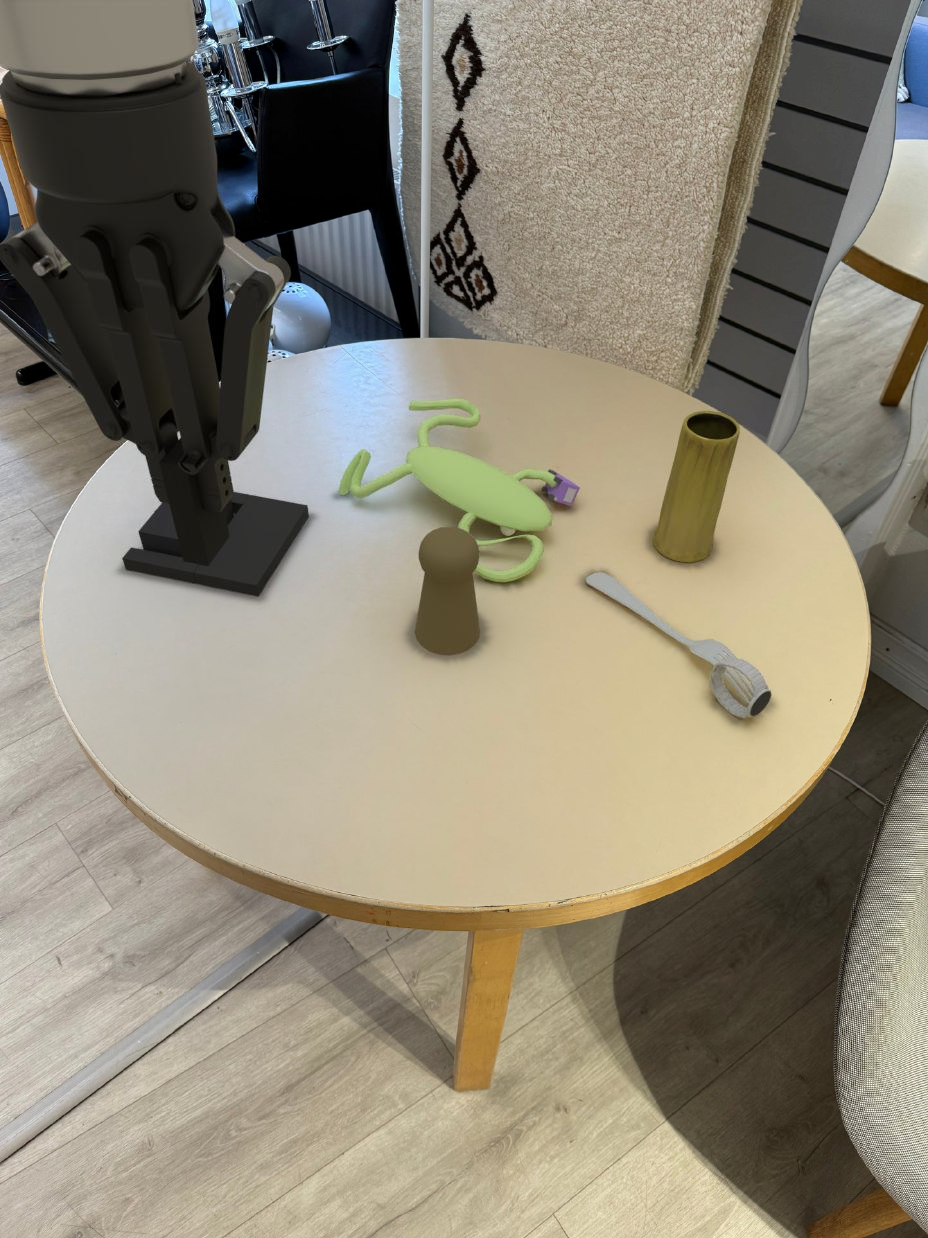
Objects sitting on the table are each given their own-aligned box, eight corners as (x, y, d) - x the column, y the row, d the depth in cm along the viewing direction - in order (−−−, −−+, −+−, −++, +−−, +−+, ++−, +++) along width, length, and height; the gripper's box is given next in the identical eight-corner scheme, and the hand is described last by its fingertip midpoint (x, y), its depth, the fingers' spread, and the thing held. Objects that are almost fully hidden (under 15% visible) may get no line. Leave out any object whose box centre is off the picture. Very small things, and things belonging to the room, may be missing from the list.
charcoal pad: (144, 554, 90) (138, 531, 88) (182, 507, 96) (176, 484, 94) (200, 566, 89) (194, 542, 87) (234, 517, 95) (230, 494, 93)
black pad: (309, 516, 95) (307, 504, 94) (258, 596, 86) (256, 585, 85) (187, 493, 98) (184, 482, 97) (125, 569, 88) (121, 558, 87)
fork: (599, 589, 92) (600, 567, 90) (770, 698, 79) (776, 674, 77) (579, 601, 90) (580, 578, 89) (750, 713, 77) (755, 689, 76)
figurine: (435, 420, 109) (436, 378, 106) (616, 514, 97) (624, 471, 93) (320, 484, 99) (315, 440, 96) (504, 599, 87) (508, 554, 83)
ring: (742, 732, 76) (758, 692, 72) (699, 695, 79) (711, 655, 75) (765, 717, 77) (781, 677, 74) (721, 681, 80) (735, 641, 77)
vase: (713, 532, 95) (747, 413, 85) (709, 568, 91) (743, 448, 81) (656, 521, 96) (682, 402, 86) (648, 556, 92) (675, 436, 82)
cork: (452, 599, 87) (454, 507, 79) (493, 635, 83) (500, 542, 76) (401, 627, 84) (398, 534, 76) (442, 664, 81) (443, 571, 73)
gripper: (300, 57, 36) (340, 529, 52) (6, 28, 38) (134, 490, 54) (216, 110, 30) (290, 616, 47) (-120, 73, 32) (64, 569, 49)
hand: (206, 548), depth 50 cm, fingers closed
